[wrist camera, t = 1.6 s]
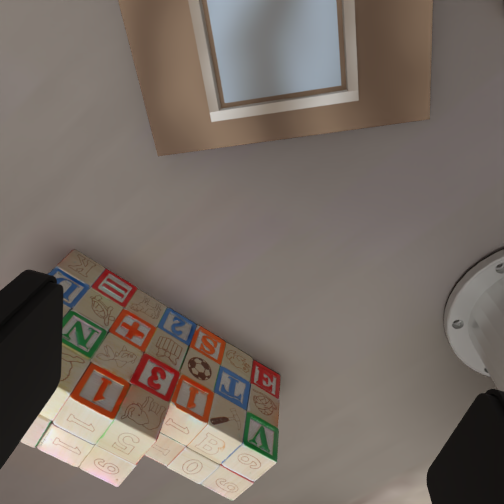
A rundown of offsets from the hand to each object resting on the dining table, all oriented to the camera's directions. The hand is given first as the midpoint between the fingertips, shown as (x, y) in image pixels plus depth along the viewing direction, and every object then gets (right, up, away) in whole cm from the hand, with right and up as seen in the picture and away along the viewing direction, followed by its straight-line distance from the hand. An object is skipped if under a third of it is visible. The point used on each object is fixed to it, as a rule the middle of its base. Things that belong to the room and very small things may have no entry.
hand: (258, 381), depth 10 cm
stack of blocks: (-8, -5, +29) cm, 30 cm away
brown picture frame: (+1, +17, +17) cm, 24 cm away
